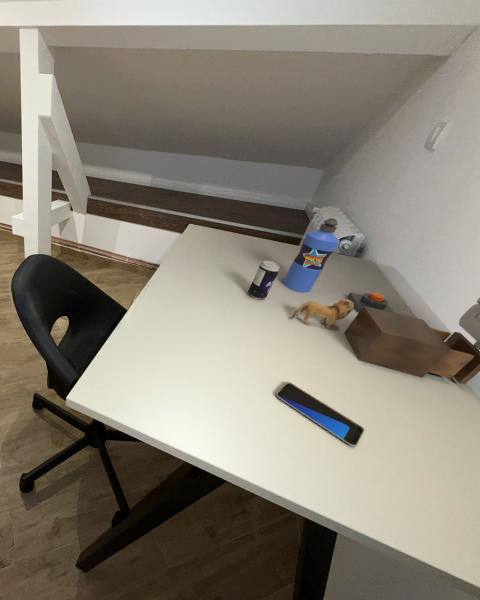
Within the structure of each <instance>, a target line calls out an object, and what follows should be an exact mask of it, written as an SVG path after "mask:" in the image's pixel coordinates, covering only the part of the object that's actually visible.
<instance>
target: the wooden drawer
mask: <svg viewBox="0 0 480 600" xmlns="http://www.w3.org/2000/svg"><path fill="white" fill-rule="evenodd" d="M431 329H432V330H433V331H434V332H435V333H436V334H437V335H438V336H439V337H440V338H441V339H442V340H443V341H444V342H445V343H446V344H447V345H448V346H449V347H450V348H451V350H450V351H449V352H448V353H447V354H446V355H445V356H444V357H443V358H442V359H441V360H440V361H439V362H438V363H437V364H436V365H435V366H434V367H433V368H432V369H431V370H430V371H429V372H428V373H431V374H434V375H438V376H441V377H445V378H448V379H452V378H454V380H456V381H457V383H458V384H460V385H466V384H467V383H468V382H469V381H471V380H472V379H473V378H474V377H475V376H476V375H477V374H479V373H480V351H479V350H478V349H477V348H476V347H475V346H474V343H472V342H471V341H470V340H469V339H468V338H467V337H466V336H464V335H463V333H461V332H458V331H454V332H453V333H451V332H450V331H445V330H442V329H437V328H433V327H431Z"/></svg>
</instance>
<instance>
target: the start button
mask: <svg viewBox="0 0 480 600" xmlns="http://www.w3.org/2000/svg"><path fill="white" fill-rule="evenodd" d="M370 294H371V295H370V296H369V298H370V299H372V300H374V301H377V302H383V300H384V299H386V296H385V295H384V294H382V293H379V292H375V291H374V292H371V293H370Z"/></svg>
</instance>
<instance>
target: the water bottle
mask: <svg viewBox="0 0 480 600" xmlns="http://www.w3.org/2000/svg"><path fill="white" fill-rule="evenodd" d="M323 222H324V223H321V225H320V226H319V229H318V230H313V231H307V233H306V235H305V237H304V238H303V240H302V244H301V247H300V249H299V252H298V254H297V255H296V257H294V259H293V261H292V262H291V264H290V265H289V266H290V267H289V268H288V270H287V272H286V275H285V276H284V278H283V280H282V284H283V285H284V286H285V287H286V288H288V289H290V290H293V291H295V292H299V293H309V292H311V291H312V289H313V287H314V286H315V284H316V282H317V280H318V279H319V277H320V275H321V273H322V272H323V271H324V267H325V265H326V262H327V261H328V259H329V257H330V256H331V255H332V253H333V252H335V250H336V249H337V247H338V246H339V244H340V242H341V241H340V238H338V237H337V236H335V235H334V233H335V232H336V230H337V229H338V227H337V226H338V225H339V223H338V221H337V219H336V218H331V217H330V218H327V219H325V220H323Z"/></svg>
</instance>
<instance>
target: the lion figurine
mask: <svg viewBox="0 0 480 600" xmlns="http://www.w3.org/2000/svg"><path fill="white" fill-rule="evenodd" d="M353 304H354V303H353V302H352V301H350V300H348V298H347V299H339V300H338V302H336V303H333V305H325V304H320V303H319V302H316V301H307V302H305V303H303V304H301V306H299V308H297V309H296V310H295V311H294V313H293V314H292V316H290V317H289V319H294V318H298V315H297V314H300V313H304V312H305V316H304V317H303V321H304V324H305V325H306V326H310V324H311V323H310V322H309V321H308V320H309V319H311V317H313V315H315V316H317V317H320V318H321V320H320V323H321V324H325V325H326V329H328V330H332V325H333V324H334V323H335V322H336V321H338V320H343V319H345V318H346V317H347V316H348V315H350V314H351V312H353V310H354V306H353ZM327 319H328V322H326V321H327ZM326 323H327V324H326Z"/></svg>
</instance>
